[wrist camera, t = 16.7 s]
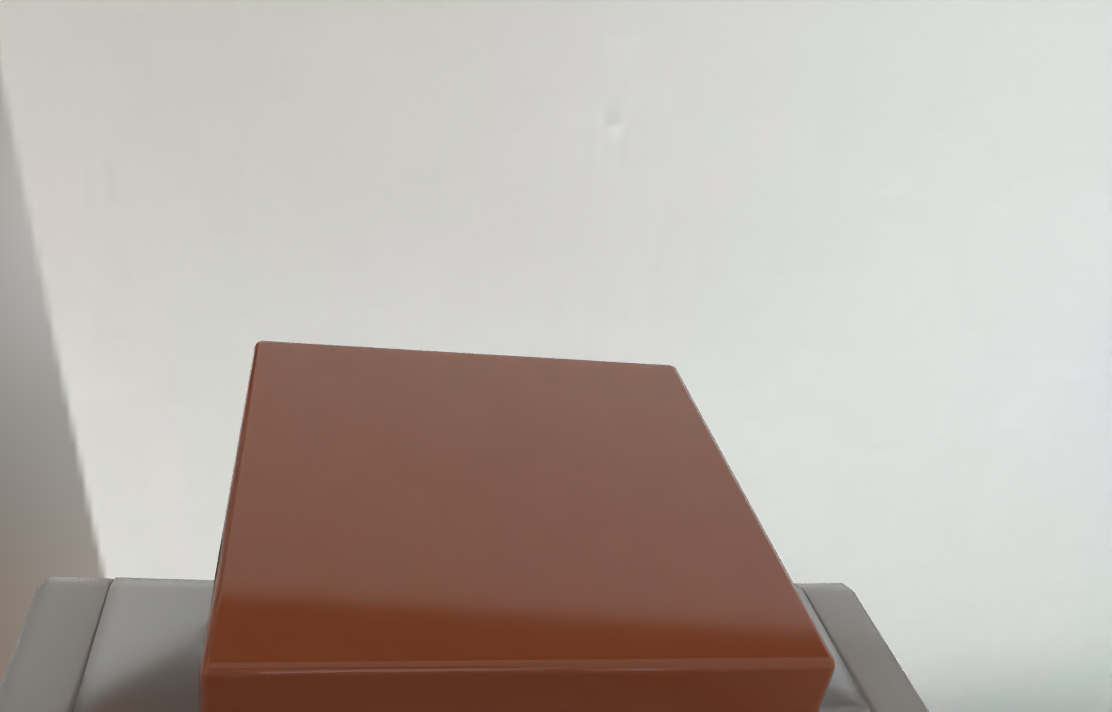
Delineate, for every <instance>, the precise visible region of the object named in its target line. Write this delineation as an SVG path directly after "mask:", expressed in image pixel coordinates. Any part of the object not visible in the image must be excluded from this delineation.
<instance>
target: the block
mask: <svg viewBox="0 0 1112 712" xmlns="http://www.w3.org/2000/svg"><path fill="white" fill-rule="evenodd" d="M834 671H835V661H834V657H833V655H832V653H831V652H830V650H829V648H828V646H827V644H826V642H825V641H824V639H823V637H822V635H821V633H820V631H819V630H818V628H817V626H816V624H815V622H814V621H813V619H812V617H811V615H810V613H809V611H808V610H807V608H806V606H805V604H804V602H803V600H802V599H801V597H800V595H799V593H798V591H797V589H796V588H795V586H794V584H793V582H792V580H791V578H790V577H789V575H788V573H787V571H786V569H785V567H784V566H783V564H782V562H781V560H780V558H779V556H778V555H777V553H776V551H775V549H774V547H773V545H772V544H771V542H770V540H769V538H768V536H767V534H766V533H765V531H764V529H763V527H762V525H761V523H760V522H759V520H758V518H757V516H756V514H755V512H754V511H753V509H752V507H751V505H750V503H749V502H748V500H747V498H746V496H745V494H744V492H743V491H742V489H741V487H740V485H739V483H738V481H737V480H736V478H735V476H734V474H733V472H732V470H731V469H730V467H729V465H728V463H727V461H726V459H725V458H724V456H723V454H722V452H721V450H720V448H719V447H718V445H717V443H716V441H715V439H714V437H713V436H712V434H711V432H710V430H709V428H708V426H707V425H706V423H705V421H704V419H703V417H702V415H701V414H700V412H699V410H698V408H697V406H696V404H695V403H694V401H693V399H692V397H691V395H690V394H689V392H688V390H687V388H686V386H685V384H684V383H683V381H682V379H681V377H680V375H679V373H678V372H677V370H676V368H675V367H673V366H670V365H658V364H641V363H624V362H607V361H591V360H574V359H557V358H540V357H524V356H507V355H490V354H473V353H456V352H440V351H423V350H406V349H389V348H373V347H356V346H339V345H322V344H306V343H289V342H272V341H260V342H258V343H257V344H256V346H255V348H254V353H253V359H252V364H251V370H250V376H249V382H248V388H247V394H246V399H245V405H244V411H243V417H242V423H241V428H240V434H239V440H238V446H237V452H236V458H235V463H234V469H233V475H232V481H231V487H230V493H229V498H228V504H227V510H226V516H225V522H224V528H223V533H222V539H221V545H220V551H219V557H218V563H217V568H216V574H215V580H214V586H213V592H212V598H211V603H210V609H209V615H208V621H207V627H206V632H205V638H204V644H203V650H202V656H201V662H200V667H199V712H819V709H820V706H821V704H822V701H823V699H824V696H825V694H826V691H827V689H828V686H829V683H830V681H831V678H832V676H833V673H834Z"/></svg>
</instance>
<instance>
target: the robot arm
mask: <svg viewBox="0 0 1112 712" xmlns="http://www.w3.org/2000/svg"><path fill="white" fill-rule="evenodd" d="M213 586H214V581H213V580H180V579H146V578H115V580H114V579H107V578H73V577H48V578H47V579H46V580H45V582H44V583H43V584H42V585H41V586H40V588H38V590H37V592H36V594H35V597H34V599H33V602H32V605H31V607H30V610H29V613H28V615H27V617H26V620H25V623H24V625H23V628H22V630H21V633H20V635H19V638H18V641H17V643H16V646H15V648H14V651H13V654H12V656H11V659H10V661H9V664H8V666H7V669H6V671H5V674H4V677H3V679H2V682H1V684H0V712H199V667H200V662H201V656H202V650H203V644H204V638H205V632H206V627H207V621H208V615H209V609H210V603H211V598H212V592H213ZM794 586H795V588H796V589H797V591H798V593H799V595H800V597H801V599H802V600H803V602H804V604H805V606H806V608H807V610H808V611H809V613H810V615H811V617H812V619H813V621H814V622H815V624H816V626H817V628H818V630H819V631H820V633H821V635H822V637H823V639H824V641H825V642H826V644H827V646H828V648H829V650H830V652H831V653H832V655H833V657H834V661H835V671H834V673H833V676H832V678H831V681H830V683H829V686H828V689H827V691H826V694H825V696H824V699H823V701H822V704H821V706H820V709H819V712H929V711H928V710H927V708H926V706H925V705H924V703H923V702H922V700H921V698H920V697H919V695H918V694H917V692H916V690H915V689H914V687H913V686H912V684H911V683H910V681H909V679H908V678H907V676H906V675H905V673H904V671H903V670H902V668H901V667H900V665H899V663H898V662H897V660H896V659H895V657H894V655H893V654H892V652H891V651H890V649H889V647H888V646H887V644H886V643H885V641H884V639H883V638H882V636H881V635H880V633H879V631H878V630H877V628H876V627H875V625H874V624H873V622H872V620H871V619H870V617H869V616H868V614H867V612H866V611H865V609H864V608H863V606H862V604H861V603H860V601H859V600H858V598H857V596H856V595H855V593H854V592H853V591H852V590H851V589H850V588H848V587H847V586H845V585H844V584H842V583H813V584H794Z"/></svg>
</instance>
